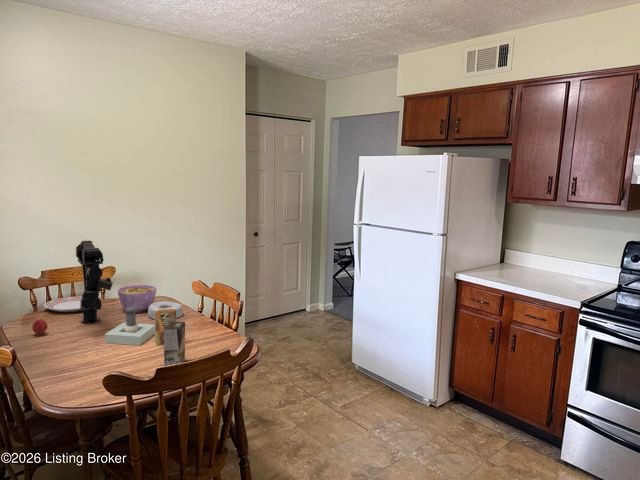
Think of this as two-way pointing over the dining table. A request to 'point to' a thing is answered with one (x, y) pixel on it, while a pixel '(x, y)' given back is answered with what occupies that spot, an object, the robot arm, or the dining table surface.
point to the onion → (39, 326)
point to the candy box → (163, 322)
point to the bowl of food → (137, 296)
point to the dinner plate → (65, 304)
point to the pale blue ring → (164, 305)
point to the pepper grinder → (131, 320)
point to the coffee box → (174, 343)
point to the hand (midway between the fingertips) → (93, 307)
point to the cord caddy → (130, 335)
